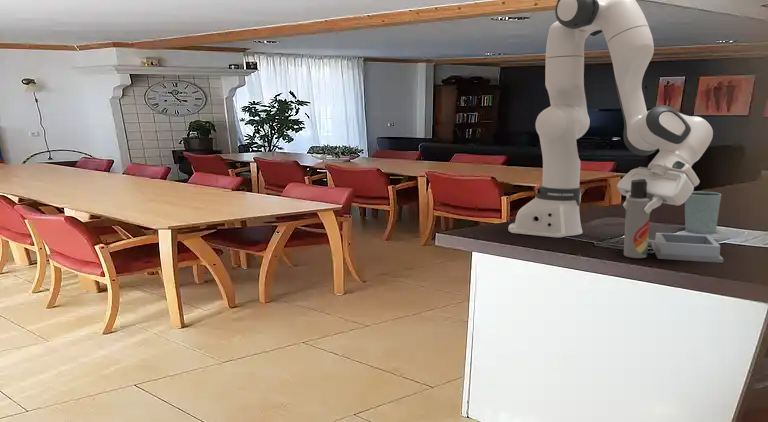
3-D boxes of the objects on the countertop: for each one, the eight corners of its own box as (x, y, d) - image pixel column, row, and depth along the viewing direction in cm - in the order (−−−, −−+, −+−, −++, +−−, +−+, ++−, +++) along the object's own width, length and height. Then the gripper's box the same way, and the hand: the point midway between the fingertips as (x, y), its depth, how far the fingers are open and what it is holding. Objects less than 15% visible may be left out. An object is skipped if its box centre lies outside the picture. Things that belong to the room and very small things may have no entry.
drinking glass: (721, 235, 183) (724, 196, 181) (684, 233, 186) (687, 194, 184) (713, 228, 192) (717, 191, 190) (679, 227, 195) (681, 190, 193)
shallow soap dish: (657, 258, 155) (658, 243, 155) (651, 245, 169) (652, 231, 169) (723, 262, 151) (724, 247, 150) (711, 249, 165) (712, 235, 164)
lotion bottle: (651, 257, 155) (656, 180, 151) (631, 259, 154) (635, 181, 151) (639, 252, 160) (643, 177, 157) (619, 253, 160) (623, 178, 156)
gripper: (630, 158, 165) (600, 195, 163) (694, 165, 147) (660, 208, 145) (642, 174, 168) (612, 211, 166) (705, 183, 149) (672, 224, 147)
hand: (635, 209), depth 155 cm, fingers open, 5 cm apart
